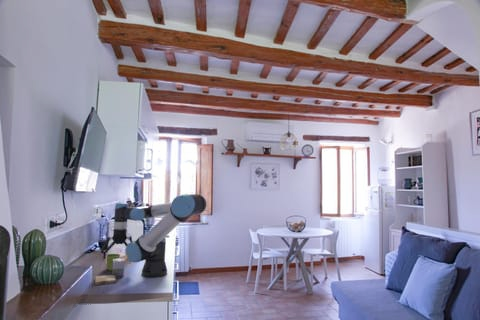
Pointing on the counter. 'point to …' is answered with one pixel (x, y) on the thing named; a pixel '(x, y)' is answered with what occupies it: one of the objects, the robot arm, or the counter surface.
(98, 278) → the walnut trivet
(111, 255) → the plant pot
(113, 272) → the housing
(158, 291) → the counter surface
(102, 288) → the counter surface
